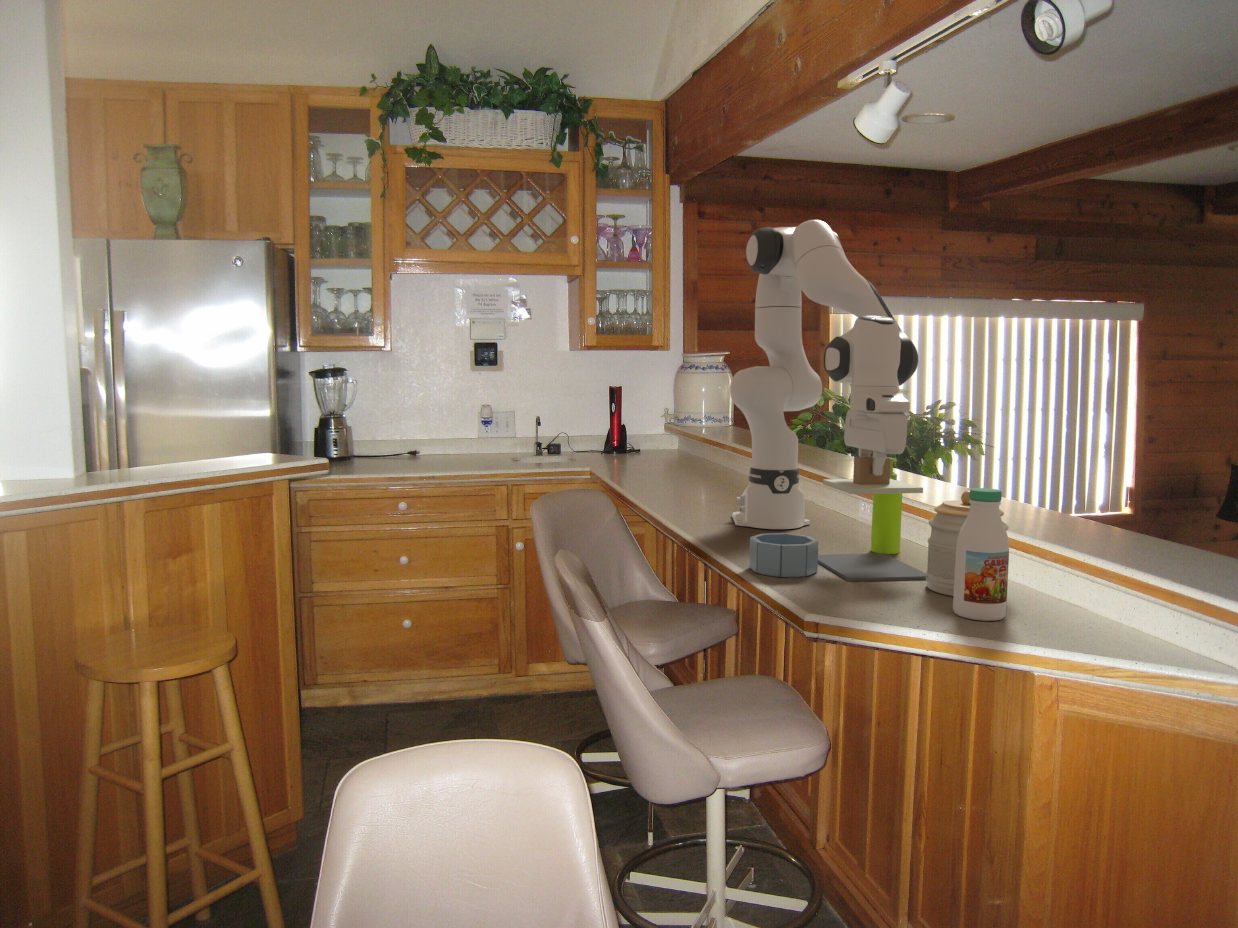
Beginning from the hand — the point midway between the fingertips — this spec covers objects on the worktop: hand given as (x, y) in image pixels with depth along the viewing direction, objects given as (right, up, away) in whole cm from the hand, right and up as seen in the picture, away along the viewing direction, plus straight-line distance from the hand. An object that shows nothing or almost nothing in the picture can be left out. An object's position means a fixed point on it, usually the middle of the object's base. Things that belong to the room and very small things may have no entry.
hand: (871, 473), depth 166 cm
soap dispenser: (+8, -17, +18) cm, 26 cm away
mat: (0, -18, +2) cm, 19 cm away
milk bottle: (+8, -22, -30) cm, 38 cm away
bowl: (-17, -19, 0) cm, 25 cm away
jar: (+12, -21, -14) cm, 28 cm away
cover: (0, -3, 0) cm, 3 cm away
